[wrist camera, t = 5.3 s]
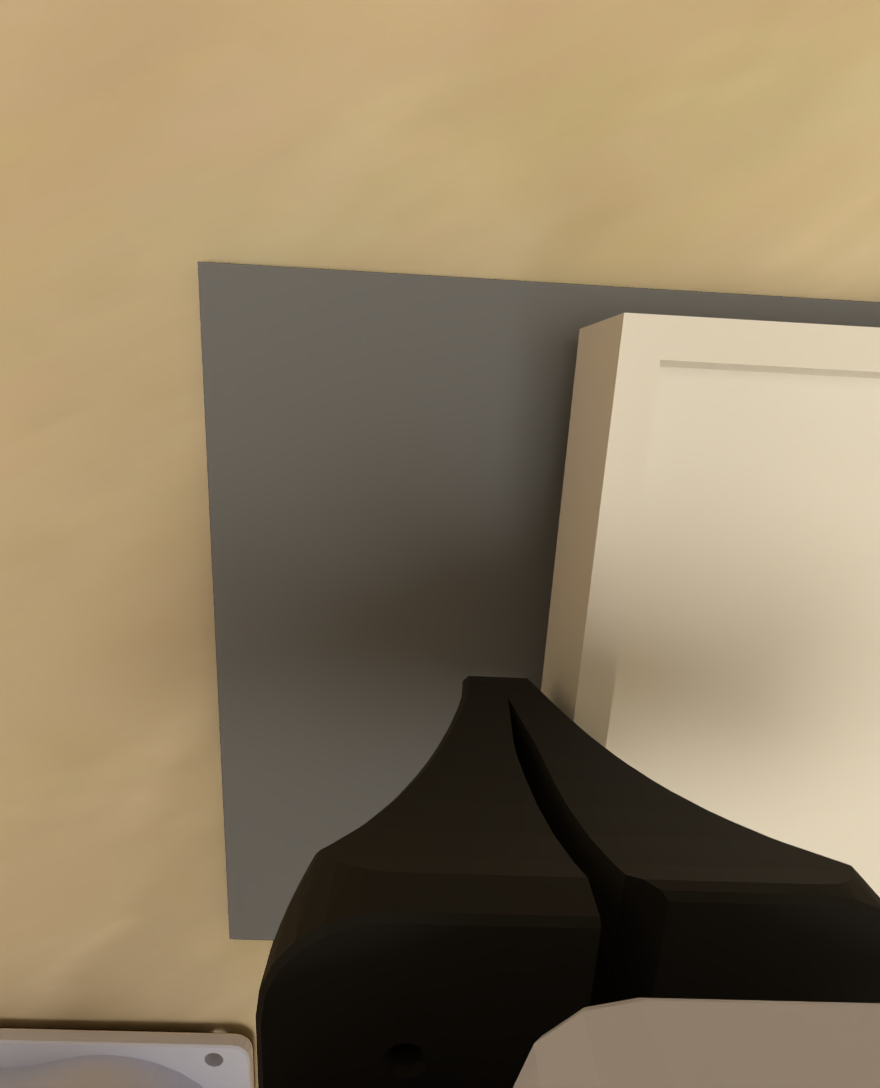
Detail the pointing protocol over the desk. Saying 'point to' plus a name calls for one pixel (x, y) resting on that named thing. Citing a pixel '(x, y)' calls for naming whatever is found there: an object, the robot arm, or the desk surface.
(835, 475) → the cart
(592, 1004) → the robot arm
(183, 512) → the desk surface
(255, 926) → the thin flat board
